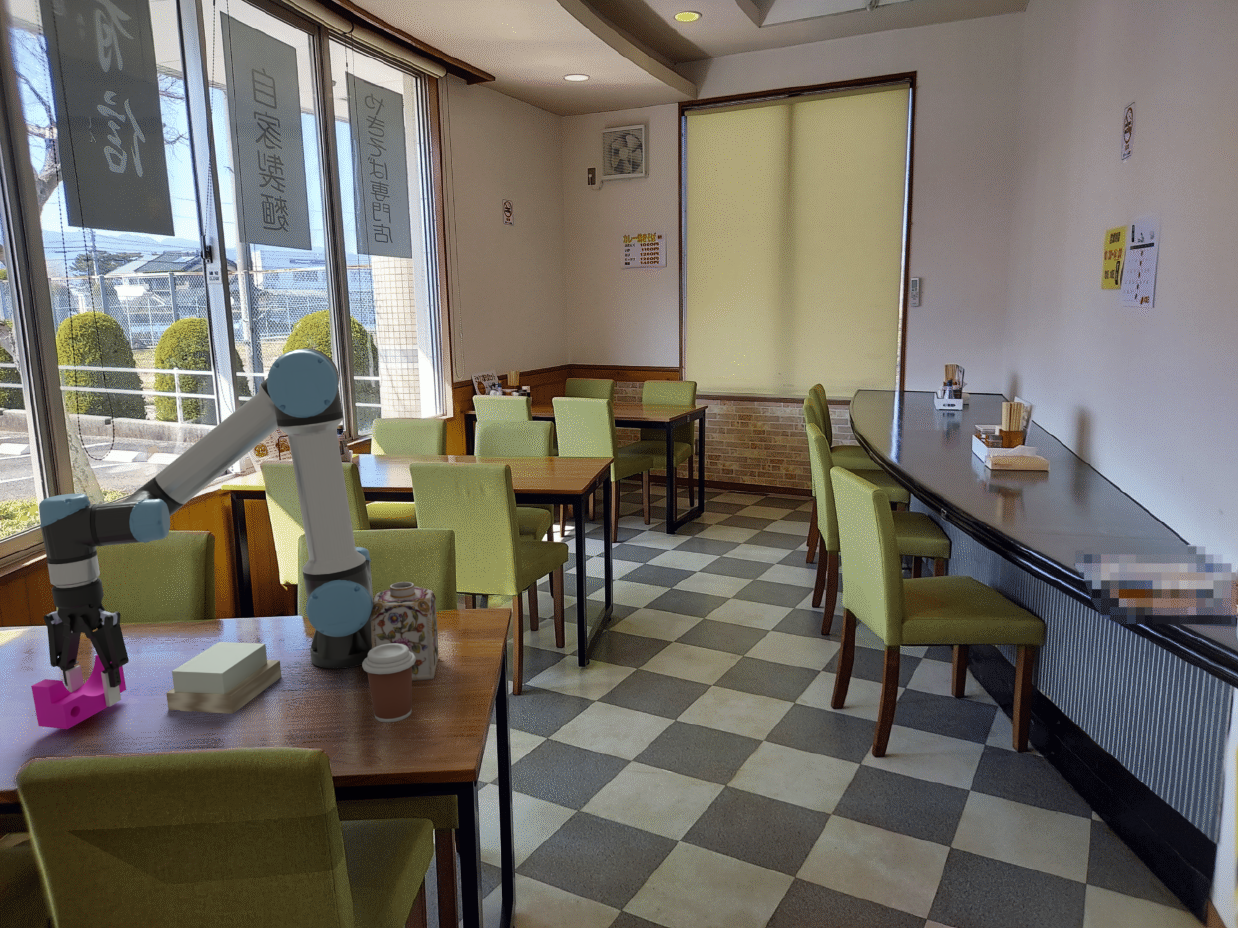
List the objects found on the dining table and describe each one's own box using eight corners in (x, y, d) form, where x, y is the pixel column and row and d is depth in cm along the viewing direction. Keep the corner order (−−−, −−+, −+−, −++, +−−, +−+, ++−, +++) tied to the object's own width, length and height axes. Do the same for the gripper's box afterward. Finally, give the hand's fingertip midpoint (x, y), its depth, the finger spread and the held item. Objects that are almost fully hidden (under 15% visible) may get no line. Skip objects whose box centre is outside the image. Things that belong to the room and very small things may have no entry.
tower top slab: (267, 662, 166) (265, 643, 166) (224, 693, 153) (222, 673, 152) (221, 660, 168) (218, 641, 167) (174, 691, 154) (171, 671, 154)
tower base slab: (281, 679, 168) (279, 660, 167) (233, 716, 153) (231, 695, 152) (222, 676, 170) (220, 657, 170) (168, 713, 155) (166, 692, 154)
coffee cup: (393, 698, 157) (388, 637, 155) (430, 708, 152) (425, 645, 150) (355, 718, 149) (350, 654, 147) (393, 730, 144) (387, 664, 142)
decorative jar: (373, 684, 163) (366, 595, 160) (382, 660, 175) (376, 577, 172) (436, 680, 165) (430, 591, 162) (440, 656, 176) (435, 574, 173)
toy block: (67, 729, 144) (60, 688, 143) (38, 726, 146) (31, 685, 144) (137, 690, 158) (131, 653, 157) (110, 688, 160) (104, 651, 159)
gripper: (140, 575, 151) (158, 694, 155) (45, 574, 155) (65, 691, 159) (109, 588, 144) (128, 713, 148) (10, 587, 147) (32, 710, 151)
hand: (96, 702), depth 153 cm, fingers closed on toy block, 7 cm apart
